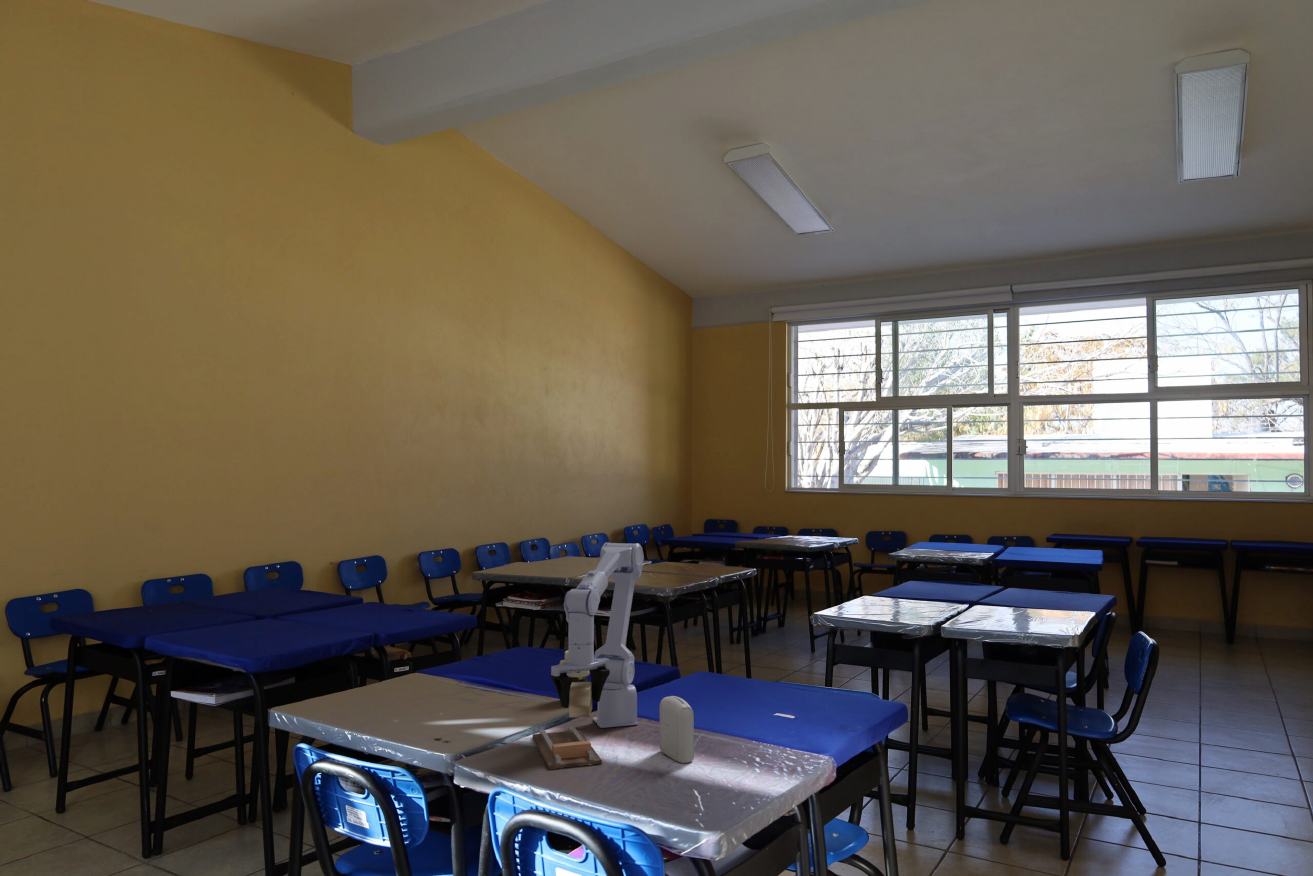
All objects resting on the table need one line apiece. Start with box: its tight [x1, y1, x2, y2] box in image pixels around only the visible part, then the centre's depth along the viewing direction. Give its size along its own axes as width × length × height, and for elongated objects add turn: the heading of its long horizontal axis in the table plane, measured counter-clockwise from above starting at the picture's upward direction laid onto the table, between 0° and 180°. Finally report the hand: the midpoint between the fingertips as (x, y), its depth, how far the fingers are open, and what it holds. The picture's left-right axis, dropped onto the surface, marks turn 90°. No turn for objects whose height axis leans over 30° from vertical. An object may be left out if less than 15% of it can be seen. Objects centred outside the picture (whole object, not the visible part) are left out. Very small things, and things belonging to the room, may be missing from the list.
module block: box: [568, 681, 593, 718], centre depth 180 cm, size 4×7×6 cm, turn 0°
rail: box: [538, 725, 594, 764], centre depth 176 cm, size 8×21×1 cm, turn 18°
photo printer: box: [659, 695, 695, 764], centre depth 172 cm, size 10×4×12 cm, turn 26°
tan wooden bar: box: [552, 740, 592, 759], centre depth 170 cm, size 8×2×2 cm, turn 108°
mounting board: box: [532, 729, 603, 770], centre depth 176 cm, size 11×22×1 cm, turn 18°
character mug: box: [559, 650, 590, 684], centre depth 218 cm, size 11×7×13 cm, turn 125°
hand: (580, 704), depth 180 cm, fingers closed on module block, 7 cm apart
